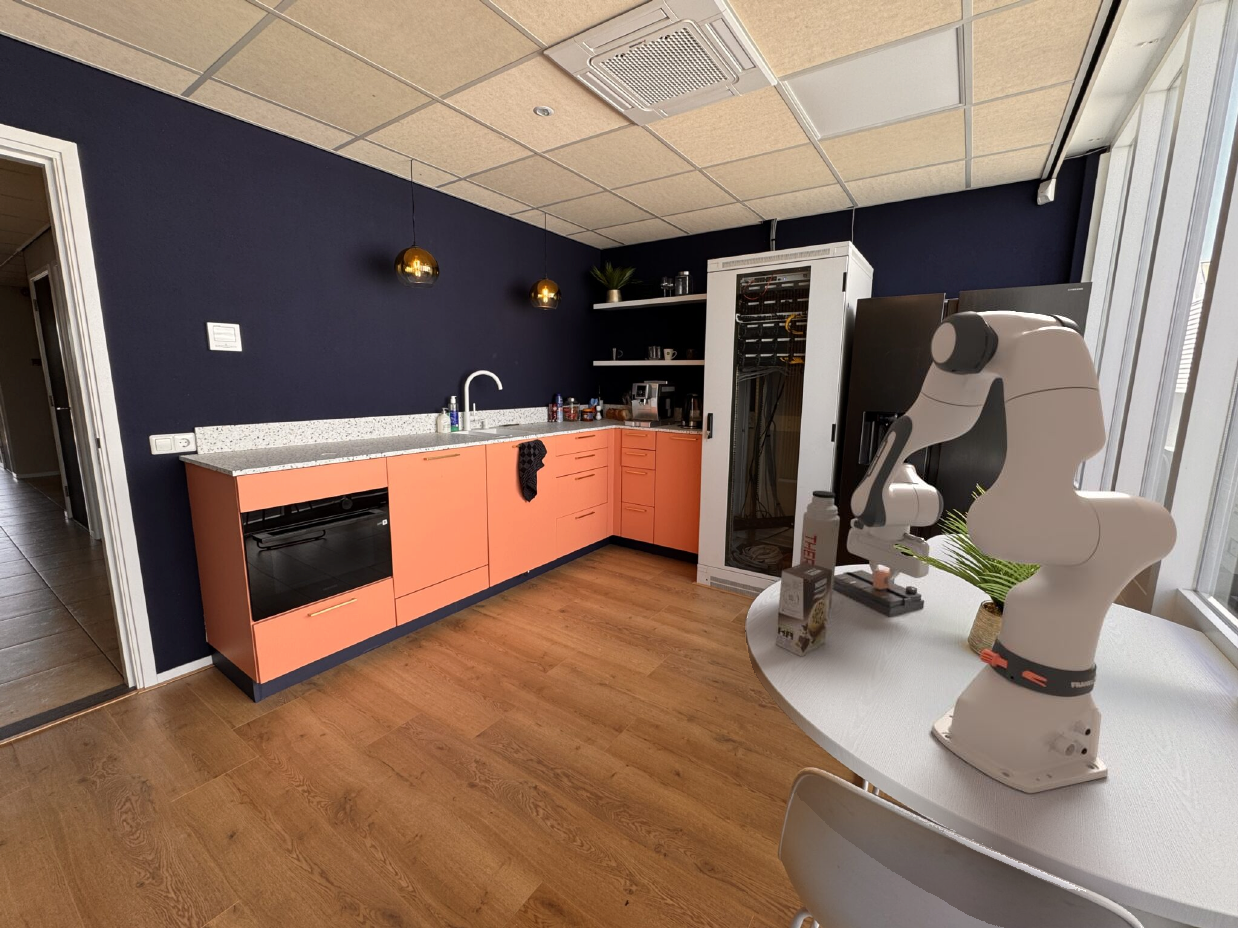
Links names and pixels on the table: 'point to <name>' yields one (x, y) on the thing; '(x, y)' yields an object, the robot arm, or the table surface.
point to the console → (877, 594)
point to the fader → (881, 579)
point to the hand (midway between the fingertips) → (882, 581)
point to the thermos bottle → (821, 533)
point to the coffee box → (803, 608)
